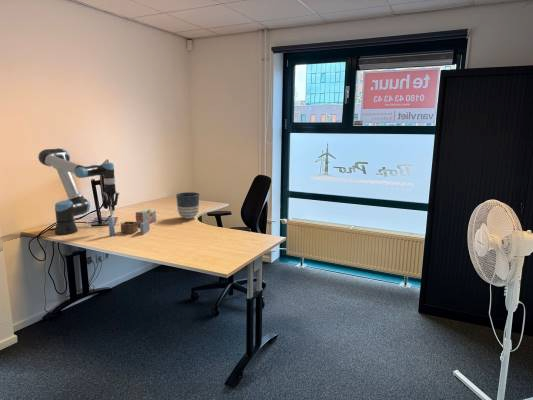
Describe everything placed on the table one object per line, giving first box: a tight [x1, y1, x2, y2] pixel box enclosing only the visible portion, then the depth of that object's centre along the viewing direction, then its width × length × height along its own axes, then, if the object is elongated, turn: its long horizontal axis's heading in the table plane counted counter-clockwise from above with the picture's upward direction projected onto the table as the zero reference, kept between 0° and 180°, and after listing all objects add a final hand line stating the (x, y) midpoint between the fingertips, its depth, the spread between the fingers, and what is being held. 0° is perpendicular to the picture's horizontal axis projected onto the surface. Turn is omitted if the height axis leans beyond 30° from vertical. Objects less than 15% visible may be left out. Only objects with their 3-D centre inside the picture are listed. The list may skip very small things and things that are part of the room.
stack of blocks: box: [135, 208, 157, 228], centre depth 306 cm, size 21×6×12 cm, turn 169°
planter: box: [175, 191, 200, 220], centre depth 324 cm, size 20×20×21 cm
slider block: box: [120, 221, 139, 235], centre depth 282 cm, size 9×9×7 cm
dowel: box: [107, 216, 116, 237], centre depth 272 cm, size 4×4×14 cm
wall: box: [139, 220, 150, 236], centre depth 281 cm, size 2×12×8 cm, turn 176°
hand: (112, 214), depth 281 cm, fingers closed
